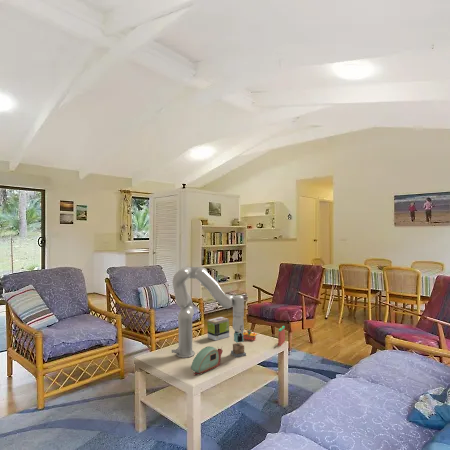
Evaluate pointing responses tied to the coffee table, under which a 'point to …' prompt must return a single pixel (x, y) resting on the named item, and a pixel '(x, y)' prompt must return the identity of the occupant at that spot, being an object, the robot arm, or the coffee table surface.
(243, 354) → the base plate
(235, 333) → the teal block
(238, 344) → the walnut block
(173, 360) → the coffee table surface
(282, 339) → the toy building block set
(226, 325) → the tea box
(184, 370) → the coffee table surface
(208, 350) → the toy snail
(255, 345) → the coffee table surface
